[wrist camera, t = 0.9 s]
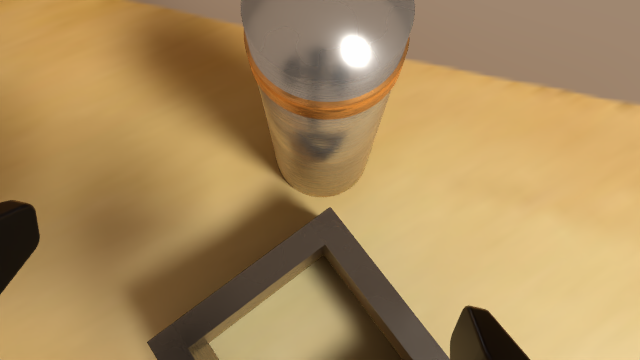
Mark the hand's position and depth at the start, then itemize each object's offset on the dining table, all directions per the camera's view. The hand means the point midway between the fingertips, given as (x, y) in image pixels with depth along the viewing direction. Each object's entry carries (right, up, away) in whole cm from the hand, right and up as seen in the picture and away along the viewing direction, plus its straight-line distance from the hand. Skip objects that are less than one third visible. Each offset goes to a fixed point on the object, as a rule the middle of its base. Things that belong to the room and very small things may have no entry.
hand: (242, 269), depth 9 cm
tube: (+2, +3, +15) cm, 16 cm away
